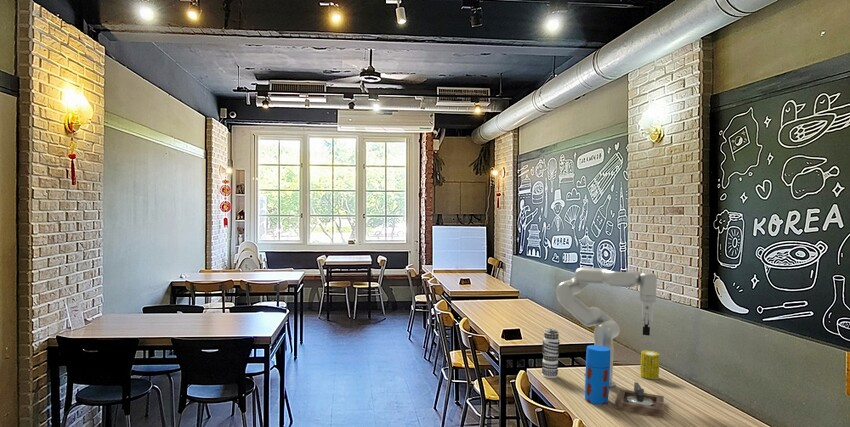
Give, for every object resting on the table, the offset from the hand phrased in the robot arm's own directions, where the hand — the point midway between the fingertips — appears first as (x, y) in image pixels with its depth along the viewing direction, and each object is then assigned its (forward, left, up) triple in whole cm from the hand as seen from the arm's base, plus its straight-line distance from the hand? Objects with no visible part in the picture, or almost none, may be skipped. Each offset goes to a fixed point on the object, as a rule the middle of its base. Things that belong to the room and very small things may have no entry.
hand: (646, 334), depth 268 cm
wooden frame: (-1, -20, -29) cm, 35 cm away
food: (+2, +29, -29) cm, 41 cm away
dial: (-1, -18, -28) cm, 33 cm away
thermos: (-20, -23, -29) cm, 42 cm away
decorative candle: (-47, +4, -29) cm, 56 cm away
